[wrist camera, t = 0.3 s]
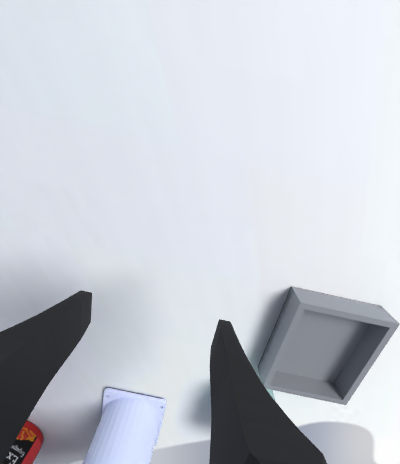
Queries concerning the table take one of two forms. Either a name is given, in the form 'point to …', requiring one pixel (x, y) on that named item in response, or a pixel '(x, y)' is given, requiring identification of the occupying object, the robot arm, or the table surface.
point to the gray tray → (324, 345)
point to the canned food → (25, 445)
